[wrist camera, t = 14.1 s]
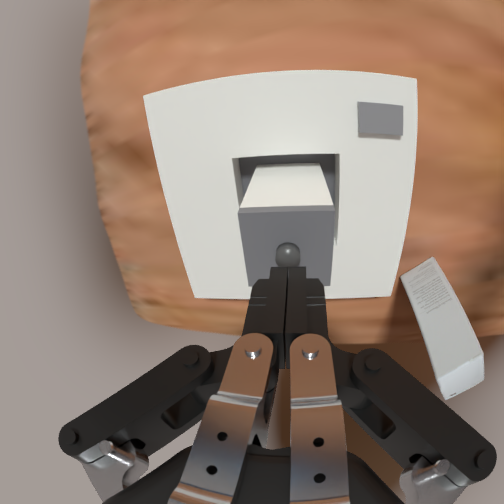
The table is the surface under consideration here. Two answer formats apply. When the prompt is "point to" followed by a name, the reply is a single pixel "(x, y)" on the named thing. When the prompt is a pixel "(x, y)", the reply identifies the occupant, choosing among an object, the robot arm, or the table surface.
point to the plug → (287, 221)
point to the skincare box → (444, 329)
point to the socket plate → (283, 152)
